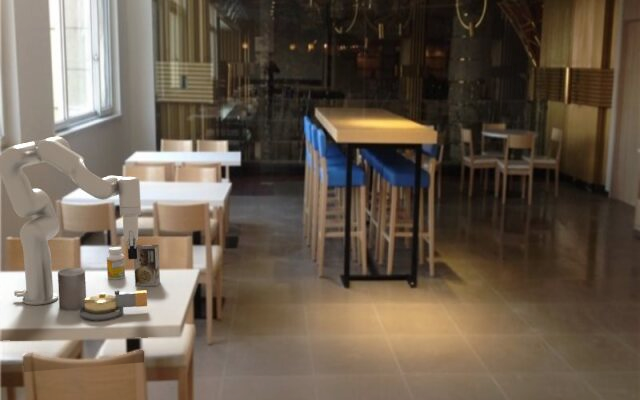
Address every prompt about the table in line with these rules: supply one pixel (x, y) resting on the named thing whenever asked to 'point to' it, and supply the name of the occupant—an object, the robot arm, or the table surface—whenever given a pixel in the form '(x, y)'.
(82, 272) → the pillar candle
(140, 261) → the coffee box
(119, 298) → the gold disc lever
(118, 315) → the base plate
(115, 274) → the supplement bottle
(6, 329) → the table surface
